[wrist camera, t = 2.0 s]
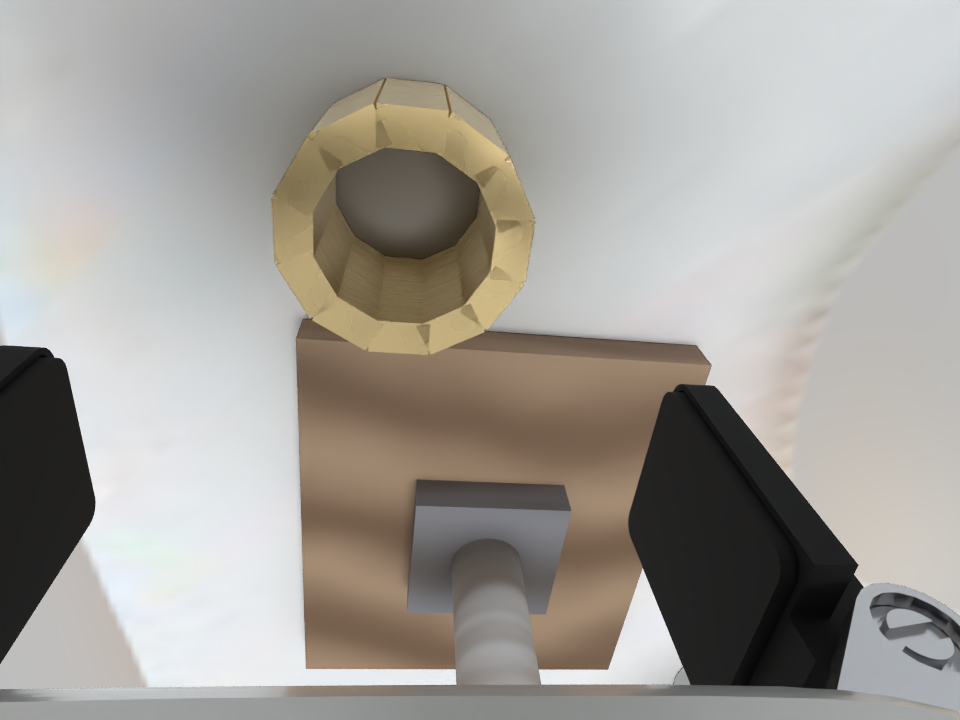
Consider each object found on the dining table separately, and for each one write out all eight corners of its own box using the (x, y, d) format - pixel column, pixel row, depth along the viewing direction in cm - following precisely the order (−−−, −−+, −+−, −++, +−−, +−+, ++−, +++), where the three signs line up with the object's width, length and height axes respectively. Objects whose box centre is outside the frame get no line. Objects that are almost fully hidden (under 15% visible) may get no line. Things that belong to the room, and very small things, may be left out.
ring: (302, 68, 19) (266, 90, 15) (523, 93, 20) (551, 121, 15) (306, 276, 22) (278, 345, 18) (496, 291, 23) (512, 360, 19)
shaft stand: (303, 318, 23) (241, 485, 15) (696, 345, 25) (820, 507, 17) (310, 641, 32) (274, 850, 24) (600, 643, 34) (653, 838, 26)
